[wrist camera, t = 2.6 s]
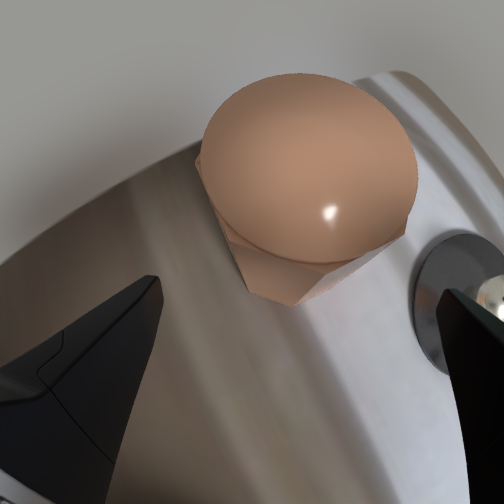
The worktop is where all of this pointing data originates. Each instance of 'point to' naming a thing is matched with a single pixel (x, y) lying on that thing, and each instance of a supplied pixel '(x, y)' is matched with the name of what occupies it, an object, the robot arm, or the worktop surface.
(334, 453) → the worktop surface
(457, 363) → the robot arm
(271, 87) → the tan rounded cylinder
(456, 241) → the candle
